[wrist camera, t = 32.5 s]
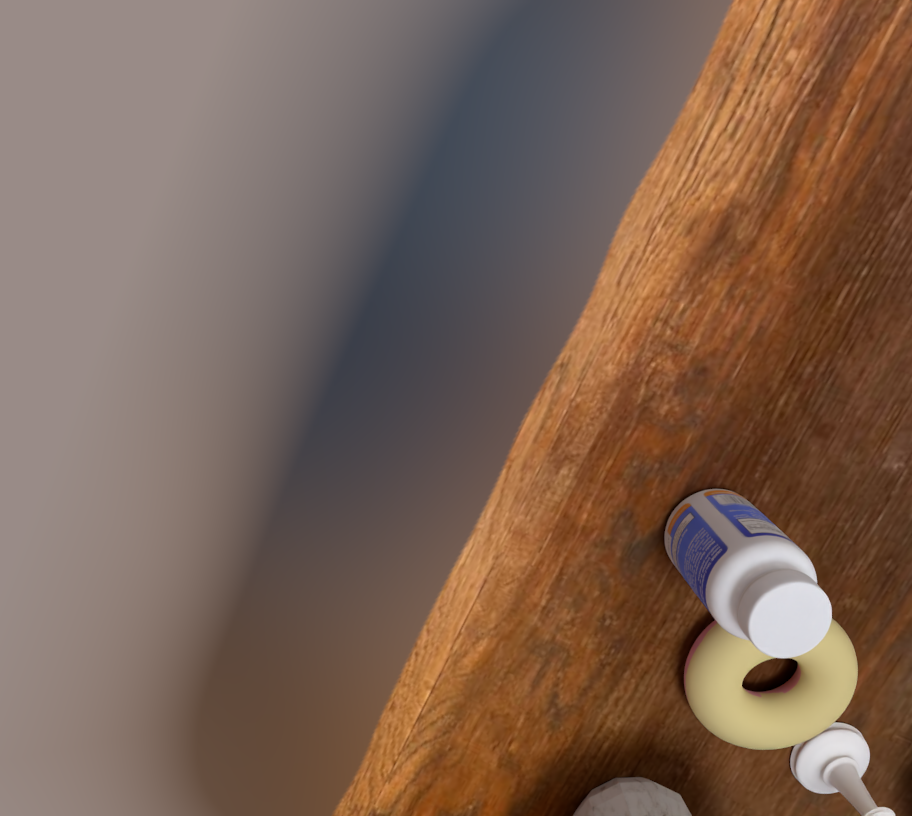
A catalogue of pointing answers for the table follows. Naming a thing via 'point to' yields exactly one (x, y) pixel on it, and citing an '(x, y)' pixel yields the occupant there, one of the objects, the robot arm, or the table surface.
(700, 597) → the pill bottle
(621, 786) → the decorative mushroom
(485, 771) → the table surface
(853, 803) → the chess piece
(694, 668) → the donut
